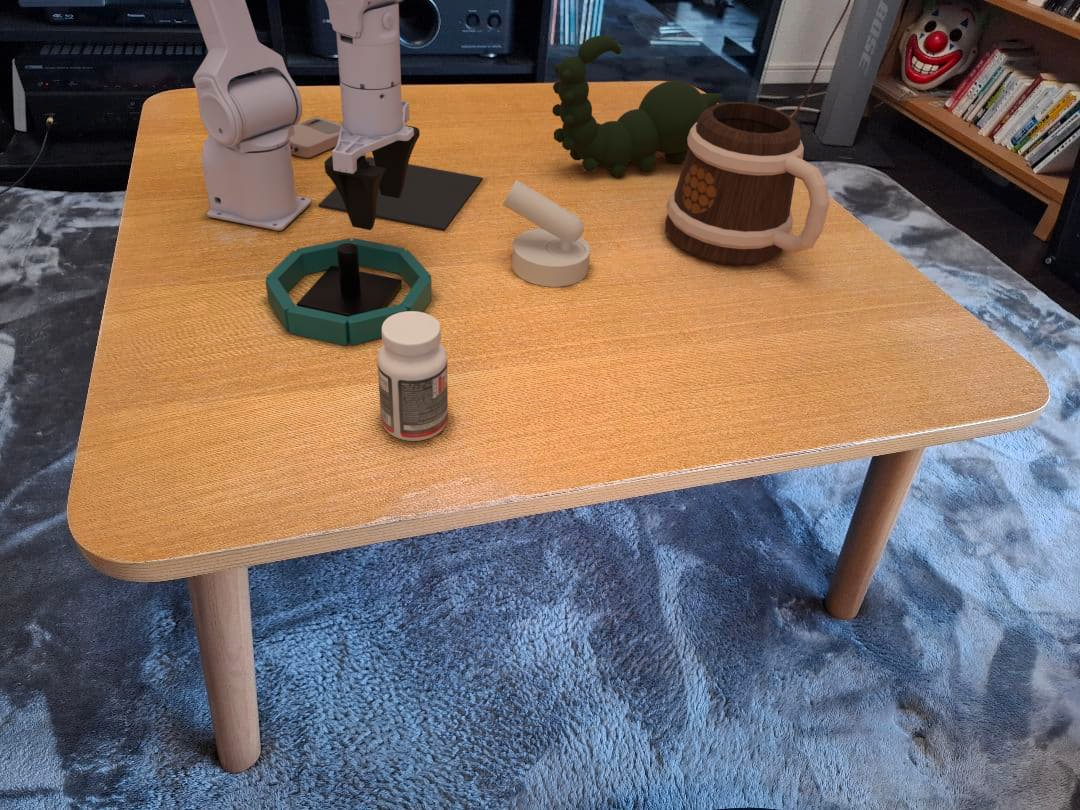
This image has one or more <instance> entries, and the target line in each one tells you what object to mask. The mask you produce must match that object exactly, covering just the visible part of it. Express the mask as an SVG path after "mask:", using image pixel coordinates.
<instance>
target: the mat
mask: <svg viewBox="0 0 1080 810" xmlns="http://www.w3.org/2000/svg"><path fill="white" fill-rule="evenodd" d="M367 161H369V165H371V166H375V161H374V157H370V156H368V157H366V162H367ZM482 181H483V177H482V176H476V175H471V174H466V173H465V174H464V173H459V172H453V171H449V170H448V171H447V170H443V169H437V168H432V167H426V166H420V165H416V164H415V165H414V164H411V163H410V164H409V163H408V167H407V171H406V176H405V182H404V187H403V191H402V194H401V197H400V198H395V197H389V196H384V195H381V192H380V189H378V194H377V201H376V217H375V219H376V218H377V219H381V220H382V219H383V220H387V221H393V222H398V223H403V224H406V225H407V224H408V225H412V226H418V227H423V228H424V227H425V228H428V229H434V230H439V231H446V230H447V228H448V226H449V225H450V224H451V223H452V221H453V220H454V219H455V217H456V216H457V215H458V213H459V212H460V211H461V210H462V208H463V206H464V205H465V204H466V202H467V201H468V200H469V199H470V198H471V196H472V194H474V192H475V190H476V189H477V187H479V185H480V183H481V182H482ZM318 207H320V208H324V209H330V210H334V211H341V212H346V213H347V210H346V207H345V204H344V202H343V199H342V197H341V195H340V193H339V191H338V189H337V187H336V186H335V188H334V189H333V190H332V191H331V192H330V193H329V194H328V195H327V196H326V197H325V198H324V199H322V201H320V203H318Z"/></svg>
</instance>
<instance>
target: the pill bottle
mask: <svg viewBox="0 0 1080 810" xmlns="http://www.w3.org/2000/svg"><path fill="white" fill-rule="evenodd" d="M441 330H442V329H441V323H440V322H439V321H438V320H437V319H436V318H435V317H434V316H432V314H428V313H426V312H424V311H423V312H417V311H406V312H400V313H396V314H394V315H392V316H390V317H388V318H387V319H386V320H385V321H384V323H383V325H382V338H381V341H382V345H381V346H380V348H379V350H378V352H377V357H376V358H377V359H376V361H377V375H378V377H377V378H378V392H379V407H380V419H381V424H382V427H383V428H384V430H385V431H386V432H387V433H388V434H390V435H391V436H392V437H394V438H397V439H400V440H403V441H408V442H420V441H425V440H428V439H431V438H433V437H435V436H436V435H438V434H440V433H441V432H442V431H443V430H444V429H445V427H446V425H447V422H448V415H449V410H448V409H449V408H448V407H449V406H448V405H449V404H448V401H449V399H448V396H449V395H448V355H447V354H448V353H447V350H446V349H445V346H443V344H442V343H441V341H442V331H441Z"/></svg>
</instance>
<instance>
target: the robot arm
mask: <svg viewBox="0 0 1080 810" xmlns="http://www.w3.org/2000/svg"><path fill="white" fill-rule="evenodd" d="M403 1H404V0H324V2H325V4H326V6H327V9H328V16H329V24H331V26H332V27H331V28H332V30H333V31H334V32H335V35H336V48H337V49H336V50H337V58H338V59H337V61H338V74H339V75H338V76H339V89H340V100H341V113H342V116H341V117H342V122H341V123H340V124H341V128H340V133H339V138H338V143H337V146H336V147H334V149H333V150H331V155H330V156H329V157H328V158H327V159H326V160H325V161H324V162H323V163H324V164H323V165H324V172H325V174H326V175H327V176H328V177H329V179H330V180H331V181H332V183H333V184H334V186H335V188H336V187H337V189H338V191H339V193H340V195H341V197H342V199H343V202H344V204H345V207H346V210H347V212H346V213H347V215H348V218H349V221H350V223H351V226H352V227H353V228H357V229H362V230H368V231H372V229H373V228H374V226H375V222H376V201H377V194H378V189H380V192H381V195H384V196H389V197H395V198H400V197H401V194H402V191H403V187H404V182H405V176H406V171H407V167H408V164H409V163H410V159H411V156H412V153H413V150H414V147H415V146H416V143H417V142H418V140H419V138H420V133H421V131H420V128H419V127H416V126H412V125H407V123H408V122H409V121H410V102H409V101H405V100H402V76H401V75H402V72H401V71H402V69H401V68H402V67H401V66H402V65H401V37H400V36H401V34H400V32H401V31H400V5H399V3H401V2H403ZM189 2H190V5H191V6H192V9H193V12H194V16H195V18H196V21H197V24H198V27H199V29H200V33H201V35H202V38H203V41H204V44H205V46H206V50H207V54H206V56H205V58H204V59H203V61H202V63H201V64H200V65H199V67H198V69H197V70H196V72H195V74H194V75H193V78H192V81H193V83H194V86H195V87H194V88H195V90H196V93H197V100H198V111H199V112H198V113H199V116H200V117H199V118H200V119H201V122H202V124H203V127H204V128H205V131H206V132H207V133H208V134H209V135H208V136H207V138H206V139H205V141H204V142H203V147H202V150H201V151H202V153H201V168H202V171H203V177H204V182H205V188H206V193H207V199H208V204H209V210H207V212H206V215H207V217H208V218H213V219H218V220H223V221H227V222H232V223H237V224H243V225H249V226H253V227H259V228H262V229H268V230H273V231H278V232H279V231H283V230H284V229H285V228H287V226H288V225H289V224H291V223H292V221H294V220H295V219H296V218H297V217H298V216H299V215H300V214H302V212H303V211H305V210H306V209H307V208H308V207H309V206H310V205H311V204H312V199H311V198H309V197H303V196H299V195H297V191H296V184H295V173H294V166H293V157H292V154H291V147H290V139H289V138H290V137H291V136H293V135H295V134H294V125H296V124H298V123H300V121H301V118H302V115H303V101H302V96H301V92H300V90H299V88H298V86H297V84H296V83H295V82H294V80H293V79H292V77H291V75H290V73H289V71H288V70H287V67H286V64H285V61H284V57H283V56H282V55H281V54H280V53H278V52H276V51H274V50H273V49H271V48H269V47H268V46H266V45H264V44H262V43H261V42H260V41H259V39H258V37H257V33H256V30H255V27H254V24H253V21H252V18H251V14H250V11H249V8H248V5H247V2H246V0H189ZM250 73H254V75H250V76H247V77H244V78H239V79H237V80H232V79H234V78H237V77H239V76H242V75H246V74H250ZM231 80H232V81H231ZM369 153H371V154H372V158H374V161H375V166H371V165H369V161H367V162H366V159H367V156H366V155H367V154H369Z"/></svg>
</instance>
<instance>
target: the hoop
mask: <svg viewBox="0 0 1080 810" xmlns="http://www.w3.org/2000/svg"><path fill="white" fill-rule="evenodd" d="M344 243H352V244H355V245H356V246H357V247H358V261H359V267H365V268H369V269H374V270H379V271H384V272H390V273H395V274H398V275H400V276H401V277H402V278H403V280H404V281H405V282H406V284H408V286H409V287H410V289H409V291H408V292H407V294H406V295H405V296H404V298H403V299H402V300H401V302H400V303H399V304H395V305H394V304H393V305H391V306H388V307H386V308H382V309H378V310H373V311H369V312H365V313H361V314H357V315H353V316H349V317H347V316H342V315H338V314H333V313H328V312H323V311H319V310H314V309H309V308H304V307H300V306H297V305H295V303H294V301H293V300H292V298H291V297H290V295H289V294H288V293H289V292H290V291H291V290H292V289H294V287H295V286H296V284H298V283H299V282H300V280H301V279H302V278H303V277H305V275H309V274H314V273H318V272H324V271H327V270H328V269H329V268H330V267H331V266H336V267H339V266H338V255H337V247H338V246H339V245H340V244H344ZM265 287H266V294H267V301H268V303H269V305H270V306H271V309H272V310H273V311H274V313H275V314H276V316H277V318H278V319H279V321H280V323H281V324H282V326H283V328H284V329H285V330H286V332H289V334H292V335H295V336H300V337H304V338H308V339H314V340H319V341H323V342H326V343H327V342H328V343H331V344H336V345H341V346H348V345H349V344H350V345H351V346H355V345H360V344H363V343H367V342H371V341H375V340H378V339H382V325H383V323H384V321H385V320H386V319H387V318H388V317H390V316H392V315H394V314H396V313H400V312H406V311H417V312H423V313H424V311H425V310H426V308H427V307H428V305H429V304H430V302H431V301H432V299H433V298H432V295H433V293H432V292H433V291H432V275H431V274H430V272H429V271H428V270H427V269H426V268H425V267H424V266H423V265H422V264H421V262H420V261H419V260H418V259H417V258H416V256H414V255H413V253H412V252H411V251H410V250H409V249H406V248H405V247H402V246H397V245H391V244H387V243H381V242H376V241H371V240H367V239H366V240H365V239H361V238H356V237H353V239H351V238H344V239H338V240H333V241H329V242H324V243H319V244H313V245H309V246H304V247H299V248H296V250H294V249H293V250H291V251H290V253H289V254H288V255H287V256H286V257H285V258H284V259H283V260H281V262H280V263H279V264H278V265H277V266H276V267H275V268H273V270H272V271H271V272H270V273H268V275H266V277H265Z"/></svg>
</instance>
